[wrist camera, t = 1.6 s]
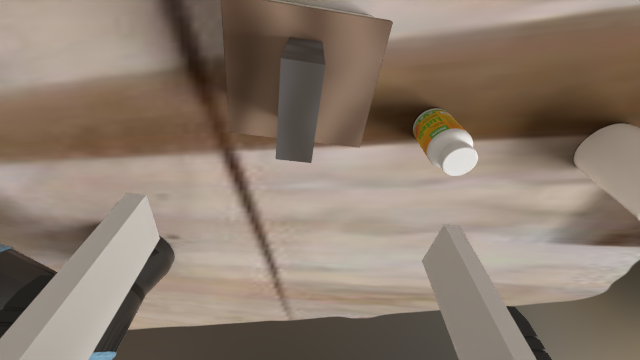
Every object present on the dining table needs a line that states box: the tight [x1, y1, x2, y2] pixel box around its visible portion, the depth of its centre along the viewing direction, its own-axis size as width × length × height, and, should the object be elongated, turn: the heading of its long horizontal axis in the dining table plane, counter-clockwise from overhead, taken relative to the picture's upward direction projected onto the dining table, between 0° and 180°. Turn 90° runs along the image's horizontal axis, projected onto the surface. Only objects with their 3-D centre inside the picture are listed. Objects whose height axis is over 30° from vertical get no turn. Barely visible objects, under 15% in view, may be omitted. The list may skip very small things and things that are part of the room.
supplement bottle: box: [413, 108, 478, 176], centre depth 35 cm, size 5×5×10 cm
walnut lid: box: [221, 0, 393, 163], centre depth 24 cm, size 15×13×10 cm
